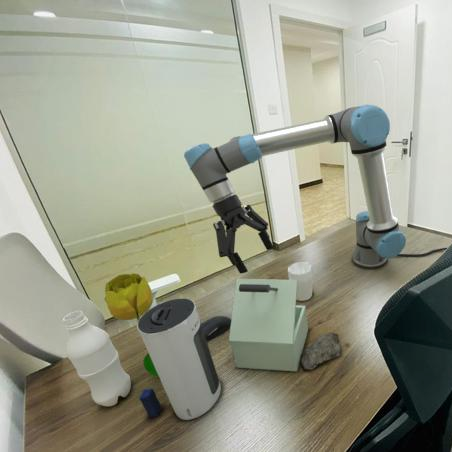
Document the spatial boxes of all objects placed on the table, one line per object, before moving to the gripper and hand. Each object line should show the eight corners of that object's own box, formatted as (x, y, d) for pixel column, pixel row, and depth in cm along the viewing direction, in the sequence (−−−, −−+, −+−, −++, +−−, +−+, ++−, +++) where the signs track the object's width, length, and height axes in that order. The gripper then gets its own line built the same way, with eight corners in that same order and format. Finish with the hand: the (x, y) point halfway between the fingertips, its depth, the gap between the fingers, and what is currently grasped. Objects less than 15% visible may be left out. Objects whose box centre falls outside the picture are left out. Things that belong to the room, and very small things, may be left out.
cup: (311, 304, 92) (308, 275, 87) (287, 302, 94) (283, 273, 89) (318, 289, 100) (315, 262, 96) (295, 287, 102) (292, 260, 97)
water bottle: (111, 383, 67) (69, 305, 57) (140, 380, 67) (103, 302, 58) (89, 412, 60) (37, 329, 51) (121, 408, 61) (76, 326, 51)
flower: (141, 376, 69) (96, 280, 57) (175, 356, 74) (139, 265, 62) (149, 397, 63) (101, 296, 52) (185, 375, 68) (148, 278, 57)
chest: (257, 327, 83) (252, 303, 79) (308, 329, 81) (305, 305, 77) (236, 367, 70) (229, 341, 66) (297, 371, 68) (293, 344, 64)
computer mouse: (242, 337, 79) (239, 327, 78) (178, 371, 69) (174, 360, 68) (228, 316, 88) (225, 307, 87) (170, 344, 78) (166, 334, 77)
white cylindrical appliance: (212, 419, 58) (180, 328, 48) (164, 424, 57) (121, 334, 47) (226, 375, 67) (202, 293, 58) (185, 380, 67) (154, 297, 57)
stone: (305, 374, 67) (304, 366, 66) (294, 351, 74) (293, 343, 73) (352, 353, 72) (352, 345, 71) (338, 333, 79) (338, 325, 78)
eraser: (162, 407, 61) (153, 387, 58) (158, 417, 59) (148, 396, 56) (153, 408, 60) (143, 388, 58) (148, 418, 58) (137, 398, 56)
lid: (238, 278, 70) (221, 276, 62) (297, 280, 68) (288, 277, 60) (230, 340, 66) (211, 345, 58) (293, 343, 64) (282, 349, 56)
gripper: (243, 189, 87) (272, 242, 93) (179, 219, 67) (222, 285, 73) (258, 182, 84) (287, 238, 90) (196, 211, 63) (239, 282, 69)
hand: (258, 260), depth 81 cm, fingers open, 13 cm apart
